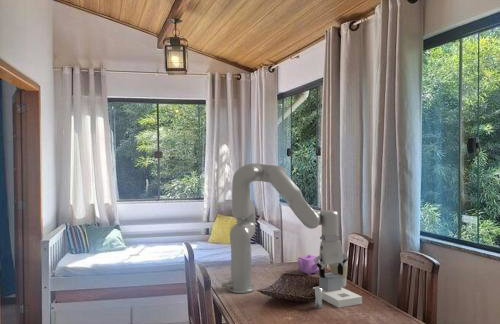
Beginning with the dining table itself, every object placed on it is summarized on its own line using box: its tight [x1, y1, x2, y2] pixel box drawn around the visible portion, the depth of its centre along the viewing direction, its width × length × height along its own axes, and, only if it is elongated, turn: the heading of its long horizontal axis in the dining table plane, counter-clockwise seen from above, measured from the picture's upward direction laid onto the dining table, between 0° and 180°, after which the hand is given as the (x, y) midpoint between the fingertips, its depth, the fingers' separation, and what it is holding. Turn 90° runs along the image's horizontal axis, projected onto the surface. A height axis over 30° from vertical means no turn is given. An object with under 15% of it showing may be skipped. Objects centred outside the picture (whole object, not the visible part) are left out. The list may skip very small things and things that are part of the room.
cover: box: [318, 272, 341, 291], centre depth 198 cm, size 7×7×6 cm
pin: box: [314, 286, 323, 309], centre depth 183 cm, size 3×3×8 cm
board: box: [312, 286, 363, 309], centre depth 193 cm, size 12×20×3 cm, turn 24°
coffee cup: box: [329, 257, 349, 288], centre depth 214 cm, size 9×9×15 cm
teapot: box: [296, 254, 320, 276], centre depth 236 cm, size 18×13×10 cm
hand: (331, 275), depth 198 cm, fingers open, 9 cm apart
